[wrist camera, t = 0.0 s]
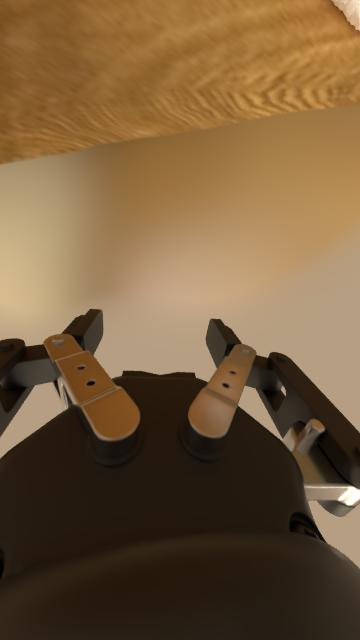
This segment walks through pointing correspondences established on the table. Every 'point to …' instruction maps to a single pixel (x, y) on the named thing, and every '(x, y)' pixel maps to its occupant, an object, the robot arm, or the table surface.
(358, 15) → the sitting furry creature
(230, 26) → the table surface
